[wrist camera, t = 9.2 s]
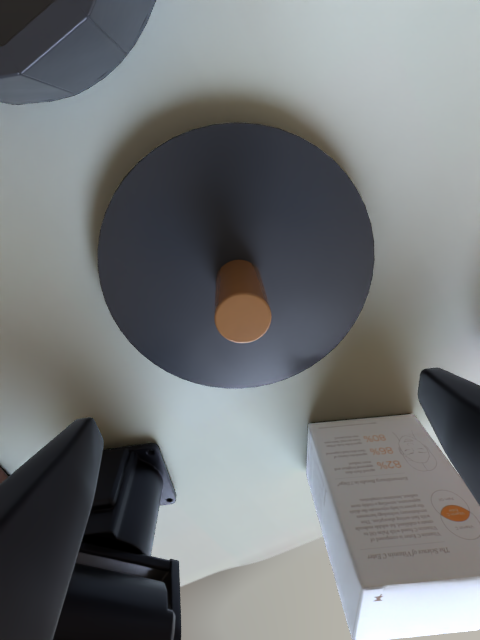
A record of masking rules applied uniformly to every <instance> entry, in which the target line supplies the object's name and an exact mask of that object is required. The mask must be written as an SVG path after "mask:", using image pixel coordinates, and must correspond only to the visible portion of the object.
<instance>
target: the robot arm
mask: <svg viewBox="0 0 480 640" xmlns="http://www.w3.org/2000/svg"><path fill="white" fill-rule="evenodd" d="M418 399H419V402H420V404H421V406H422V408H423V410H424V412H425V414H426V416H427V418H428V420H429V422H430V424H431V426H432V428H433V430H434V432H435V434H436V436H437V437H438V439H439V441H440V443H441V445H442V447H443V449H444V451H445V453H446V454H447V456H448V458H449V459H450V461H451V462H452V464H453V466H454V467H455V469H456V470H457V472H458V473H459V475H460V476H461V478H462V479H463V481H464V483H465V484H466V486H467V487H468V489H469V490H470V492H471V493H472V495H473V496H474V498H475V500H476V501H477V503H478V504H479V506H480V386H479V385H477V384H475V383H473V382H470V381H468V380H466V379H464V378H461V377H459V376H457V375H454V374H452V373H450V372H448V371H445V370H443V369H441V368H429V369H424V370H422V371H421V373H420V380H419V387H418ZM103 447H104V441H103V437H102V435H101V433H100V431H99V429H98V427H97V425H96V422H95V421H94V419H93V418H90V417H89V418H82V419H77V420H75V421H74V422H73V423H71V424H70V425H69V426H68V427H67V428H66V429H64V430H63V431H62V432H61V433H60V434H59V435H57V436H56V437H55V438H54V439H53V440H51V441H50V442H49V443H48V444H47V445H46V446H44V447H43V448H42V449H41V450H40V451H38V452H37V453H36V454H35V455H34V456H33V457H31V458H30V459H29V460H28V461H27V462H26V463H24V464H23V465H22V466H21V467H20V468H18V469H17V470H16V471H15V472H14V473H13V474H11V475H10V476H9V477H8V478H7V479H5V480H4V481H3V482H2V483H1V484H0V640H181V609H180V608H181V607H180V578H179V561H178V560H173V559H170V560H166V559H161V558H157V557H152V556H151V551H152V546H153V540H154V534H155V528H156V523H157V517H158V511H159V506H160V505H167V504H172V503H174V502H175V501H176V493H175V490H174V487H173V485H172V482H171V479H170V476H169V474H168V471H167V468H166V466H165V463H164V460H163V457H162V455H161V452H160V449H159V447H158V445H156V444H154V443H149V444H142V445H135V446H128V447H121V448H114V449H107V450H103ZM152 450H153V451H152Z"/></svg>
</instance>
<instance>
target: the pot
mask: <svg viewBox="0 0 480 640" xmlns="http://www.w3.org/2000/svg"><path fill="white" fill-rule="evenodd" d="M155 2H156V0H0V102H2V103H7V104H12V105H14V104H16V105H21V104H27V103H39V102H50V101H55V100H59V99H63V98H67V97H70V96H74V95H76V94H79V93H81V92H82V91H84V90H86V89H88V88H90V87H91V86H93V85H94V84H96V83H97V82H99V81H100V80H102V79H103V78H105V77H106V76H107V75H108V74H109V73H110V72H111V71H112V70H114V69H115V68H116V67H117V66H118V65H119V64H120V63H121V62H122V60H123V59H124V58H125V57H126V56H127V54H128V53H129V51H130V50H131V49H132V48H133V46H134V45H135V43H136V41H137V40H138V38H139V36H140V34H141V33H142V31H143V29H144V27H145V26H146V24H147V21H148V19H149V16H150V14H151V12H152V9H153V7H154V4H155Z"/></svg>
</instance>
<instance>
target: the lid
mask: <svg viewBox="0 0 480 640" xmlns="http://www.w3.org/2000/svg"><path fill="white" fill-rule="evenodd" d="M373 267H374V239H373V233H372V227H371V223H370V219H369V216H368V213H367V210H366V207H365V205H364V203H363V201H362V199H361V197H360V194H359V192H358V190H357V189H356V187H355V186H354V184H353V183H352V181H351V180H350V178H349V177H348V176H347V174H346V173H345V172H344V171H343V170H342V169H341V168H340V166H339V165H338V164H337V163H336V162H335V161H334V160H333V159H332V158H331V157H329V156H328V155H327V154H326V153H324V152H323V151H322V150H321V149H319V148H318V147H317V146H315V145H313V144H311V143H310V142H308V141H306V140H304V139H303V138H301V137H299V136H297V135H294V134H292V133H289V132H287V131H284V130H281V129H279V128H274V127H270V126H265V125H260V124H251V123H225V124H214V125H210V126H206V127H202V128H198V129H193V130H191V131H188V132H186V133H183V134H181V135H179V136H176V137H174V138H172V139H170V140H168V141H167V142H165V143H163V144H162V145H160V146H159V147H157V148H155V149H154V150H153V151H151V152H150V153H149V154H148V155H147V156H145V157H144V158H143V159H142V160H141V161H139V162H138V163H137V164H136V165H135V167H134V168H133V169H132V170H131V171H130V172H129V173H128V175H127V176H126V177H125V178H124V179H123V181H122V182H121V184H120V186H119V187H118V189H117V190H116V192H115V193H114V195H113V197H112V199H111V201H110V204H109V206H108V208H107V210H106V212H105V216H104V219H103V223H102V226H101V230H100V236H99V243H98V271H99V278H100V285H101V288H102V291H103V295H104V298H105V302H106V304H107V306H108V308H109V311H110V313H111V315H112V317H113V319H114V320H115V322H116V324H117V325H118V327H119V329H120V330H121V332H122V333H123V334H124V335H125V337H126V338H127V339H128V340H129V342H130V343H131V344H132V345H133V346H134V347H135V348H136V349H137V350H138V351H139V352H140V353H141V354H142V355H143V356H145V357H146V358H147V359H149V360H150V361H151V362H152V363H154V364H155V365H157V366H159V367H160V368H162V369H163V370H165V371H167V372H169V373H171V374H173V375H175V376H177V377H179V378H182V379H185V380H187V381H190V382H193V383H197V384H201V385H206V386H210V387H218V388H251V387H258V386H263V385H268V384H272V383H275V382H278V381H282V380H285V379H287V378H289V377H292V376H294V375H296V374H299V373H300V372H302V371H304V370H306V369H307V368H309V367H311V366H313V365H314V364H315V363H317V362H318V361H320V360H321V359H322V358H324V357H325V356H326V355H327V354H328V353H329V352H330V351H332V350H333V349H334V348H335V347H336V346H337V345H338V344H339V342H340V341H341V340H342V339H343V338H344V337H345V336H346V334H347V333H348V332H349V330H350V329H351V327H352V326H353V324H354V323H355V321H356V319H357V318H358V316H359V314H360V312H361V310H362V308H363V306H364V303H365V301H366V298H367V295H368V293H369V289H370V285H371V281H372V276H373Z"/></svg>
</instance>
